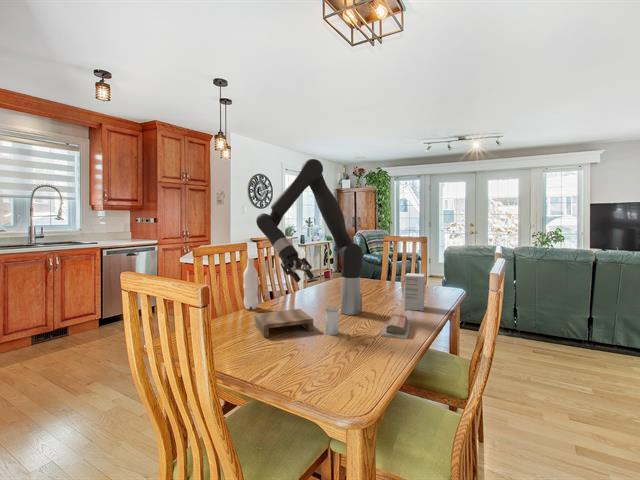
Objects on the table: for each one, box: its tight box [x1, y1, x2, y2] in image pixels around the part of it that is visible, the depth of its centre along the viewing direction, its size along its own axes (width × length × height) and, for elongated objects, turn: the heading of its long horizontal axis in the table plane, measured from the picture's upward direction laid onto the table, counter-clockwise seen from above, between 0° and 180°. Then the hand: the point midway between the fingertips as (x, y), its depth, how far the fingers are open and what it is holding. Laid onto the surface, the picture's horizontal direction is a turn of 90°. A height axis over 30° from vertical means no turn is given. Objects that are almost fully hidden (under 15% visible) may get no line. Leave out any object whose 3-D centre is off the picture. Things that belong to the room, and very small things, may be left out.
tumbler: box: [325, 305, 340, 336], centre depth 138 cm, size 5×5×10 cm
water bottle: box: [242, 257, 259, 310], centre depth 174 cm, size 7×7×25 cm
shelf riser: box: [254, 308, 314, 339], centre depth 144 cm, size 20×16×5 cm
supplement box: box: [403, 272, 426, 312], centre depth 174 cm, size 10×9×17 cm
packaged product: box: [380, 314, 412, 340], centre depth 141 cm, size 18×5×10 cm
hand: (305, 279), depth 146 cm, fingers open, 8 cm apart
